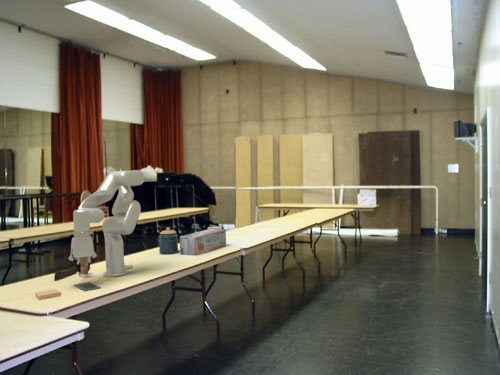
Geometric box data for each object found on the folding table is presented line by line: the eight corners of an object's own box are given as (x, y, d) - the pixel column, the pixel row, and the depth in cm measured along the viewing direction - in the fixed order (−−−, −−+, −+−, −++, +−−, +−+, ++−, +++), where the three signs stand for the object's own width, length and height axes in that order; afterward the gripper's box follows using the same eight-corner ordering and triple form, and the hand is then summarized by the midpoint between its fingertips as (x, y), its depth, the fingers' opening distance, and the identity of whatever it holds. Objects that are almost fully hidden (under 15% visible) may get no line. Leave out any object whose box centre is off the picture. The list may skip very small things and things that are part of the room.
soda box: (210, 245, 333) (210, 228, 333) (227, 246, 327) (226, 228, 327) (179, 255, 297) (178, 235, 296) (196, 256, 290) (196, 236, 290)
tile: (55, 288, 206) (61, 291, 200) (56, 293, 206) (61, 296, 200) (35, 292, 200) (39, 295, 194) (35, 297, 201) (39, 300, 194)
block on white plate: (88, 273, 221) (87, 255, 221) (96, 276, 212) (96, 257, 212) (76, 274, 218) (75, 256, 217) (84, 278, 209) (83, 259, 209)
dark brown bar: (71, 273, 249) (71, 265, 249) (77, 273, 248) (77, 265, 248) (50, 281, 231) (49, 272, 231) (56, 281, 230) (56, 272, 230)
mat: (89, 282, 224) (89, 281, 224) (101, 288, 212) (101, 287, 212) (73, 285, 219) (73, 284, 219) (84, 291, 207) (84, 290, 207)
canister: (181, 251, 309) (180, 226, 309) (173, 254, 297) (172, 228, 296) (164, 251, 313) (163, 226, 312) (156, 254, 300) (155, 228, 300)
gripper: (95, 232, 226) (97, 267, 226) (62, 235, 215) (63, 272, 216) (101, 233, 220) (102, 270, 221) (67, 236, 210) (68, 275, 210)
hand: (83, 271), depth 218 cm, fingers closed on block on white plate, 3 cm apart
